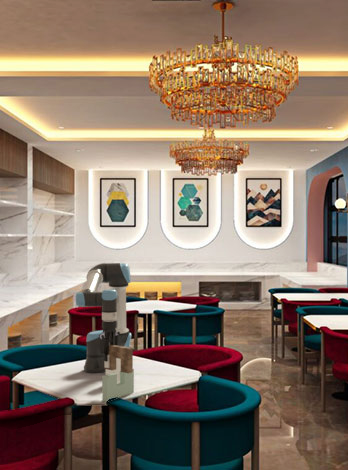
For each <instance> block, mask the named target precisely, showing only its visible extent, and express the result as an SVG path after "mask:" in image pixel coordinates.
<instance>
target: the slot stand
mask: <svg viewBox="0 0 348 470" xmlns="http://www.w3.org/2000/svg"><path fill="white" fill-rule="evenodd" d="M134 370H135V369H134V368H133V372H132V373H124V372H121V371H120V383H118V384H117V374H115V373H111V374H107V375H106V374H105V375H102V376H101V379H102V380H101V381H102V383H101V384H102V385H101V386H102V389H101V390H102V394H101V395H102V397H101V398H102V400H101V401H102V402H106V403H108V402H109V401H108V400H109V399H111V398H115V397H118V398H117V399H119V398H122V397H124V396H127V395H130V394H133V393H134V392H135V391H134V390H135V388H134V387H135V385H134V384H135V375H134V374H135V371H134ZM107 401H108V402H107Z"/></svg>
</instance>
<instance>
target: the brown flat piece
mask: <svg viewBox="0 0 348 470" xmlns="http://www.w3.org/2000/svg"><path fill="white" fill-rule="evenodd" d="M133 351H134V350H133V347H131V346H130V347H124V346H117V345H110V344H109V352H108V355H109V368H105V369H107V370H115V369H116V358H119V359H121V372H124V373H132V372H133V369H134V367H133V365H134V363H133V361H134V360H133V353H134V352H133Z"/></svg>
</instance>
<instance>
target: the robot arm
mask: <svg viewBox="0 0 348 470" xmlns="http://www.w3.org/2000/svg"><path fill="white" fill-rule="evenodd" d="M85 277H86V281H85V283H84V287H83V289H82V291H79V292H78V291H77V292H76V295H75V305H76V306H77V307H82V308H84V307H86V308H87V307H101V320H102V321H101V328H102V329H101V330H94V331H90V332H88V333H87V335H86V341H85V342H86V359H85V363H84V366H83V372H85V373H90V374H99V373H106V369H105V368H109V355H108V352H109V343H110V345H117V346H124V347H131V341H132V333H131V332H130V329H129V328H127V288H128V287H129V284H130V283H131V281H132V279H131V277H132V276H131V271H130V266H129V264H128V263H122V262H114V263H113V262H112V263H109V262H107V263H105V262H103V263H98V264H96V265H94V266H93V267H92V268H90V270H88V272H87V274H86V276H85ZM101 284H108V287H109V288H110V289H103V290H102V291H98V290H99V288H100V285H101Z"/></svg>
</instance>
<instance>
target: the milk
mask: <svg viewBox="0 0 348 470" xmlns="http://www.w3.org/2000/svg"><path fill="white" fill-rule="evenodd" d="M109 344H110V343H109ZM120 371H121V359H119V358H116V369H115V370H107V369H106V372H105V375H107V374H111V373H115V374H117V384H118V383H120Z"/></svg>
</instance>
